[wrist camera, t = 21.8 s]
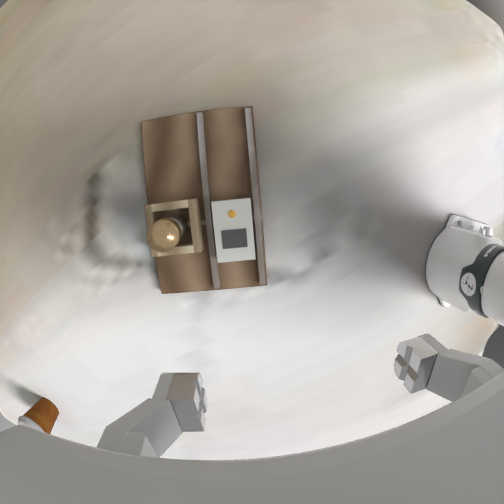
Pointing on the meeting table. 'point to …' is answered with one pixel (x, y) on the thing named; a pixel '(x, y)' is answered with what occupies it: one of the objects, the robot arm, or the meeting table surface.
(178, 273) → the board
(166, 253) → the socket
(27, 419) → the disposable coffee cup
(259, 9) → the meeting table surface
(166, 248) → the grey and tan cylinder
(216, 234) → the block
